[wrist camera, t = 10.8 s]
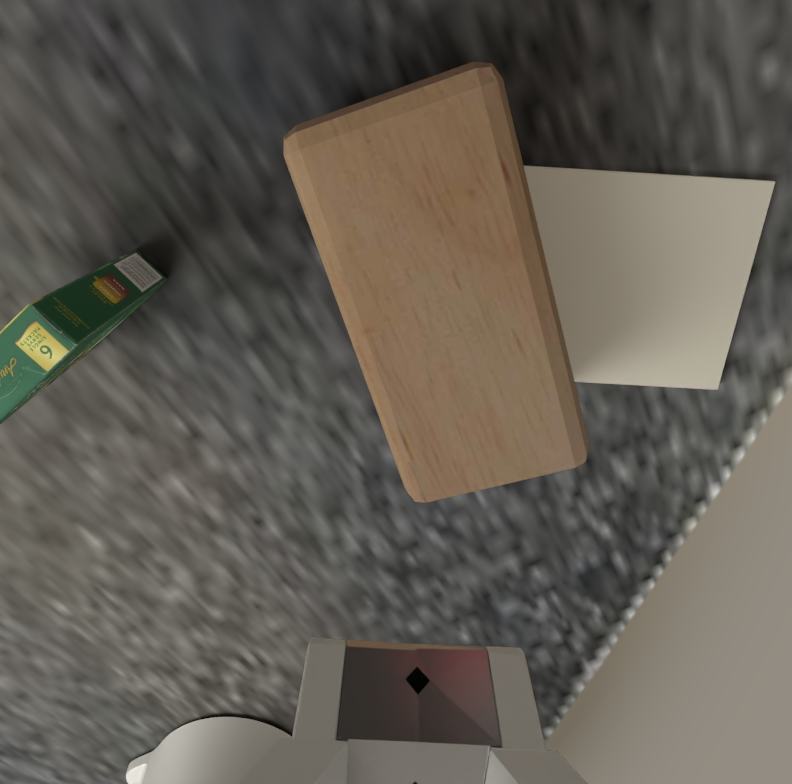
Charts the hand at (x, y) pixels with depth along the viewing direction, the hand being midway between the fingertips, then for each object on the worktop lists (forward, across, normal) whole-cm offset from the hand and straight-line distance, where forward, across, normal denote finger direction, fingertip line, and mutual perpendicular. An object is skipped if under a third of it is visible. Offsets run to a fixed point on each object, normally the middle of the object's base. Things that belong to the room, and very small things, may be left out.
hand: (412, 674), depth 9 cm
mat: (+33, +13, -2) cm, 36 cm away
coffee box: (+33, -18, -5) cm, 38 cm away
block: (+27, +6, -11) cm, 30 cm away
